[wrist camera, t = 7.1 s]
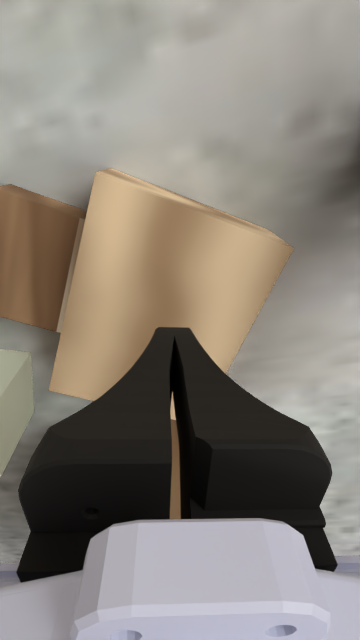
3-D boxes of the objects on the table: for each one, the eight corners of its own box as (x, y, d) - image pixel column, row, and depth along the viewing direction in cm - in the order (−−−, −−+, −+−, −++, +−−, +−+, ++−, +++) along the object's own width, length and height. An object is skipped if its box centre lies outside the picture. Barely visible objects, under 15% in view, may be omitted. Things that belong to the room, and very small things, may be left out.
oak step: (268, 229, 19) (294, 248, 15) (192, 383, 25) (197, 425, 21) (111, 168, 17) (95, 172, 13) (68, 351, 23) (48, 390, 19)
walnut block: (91, 221, 16) (-8, 187, 15) (65, 334, 20) (-17, 311, 19) (98, 214, 18) (11, 183, 17) (74, 318, 22) (0, 297, 21)
